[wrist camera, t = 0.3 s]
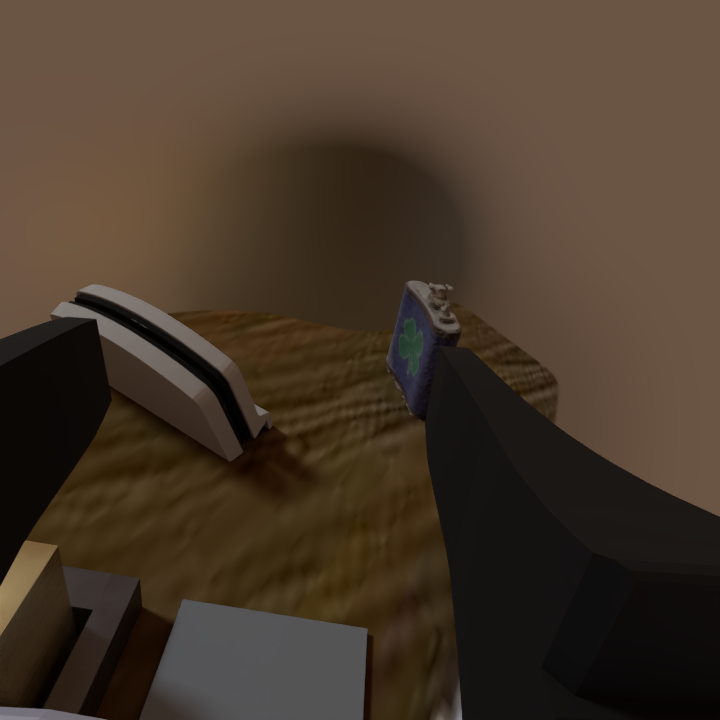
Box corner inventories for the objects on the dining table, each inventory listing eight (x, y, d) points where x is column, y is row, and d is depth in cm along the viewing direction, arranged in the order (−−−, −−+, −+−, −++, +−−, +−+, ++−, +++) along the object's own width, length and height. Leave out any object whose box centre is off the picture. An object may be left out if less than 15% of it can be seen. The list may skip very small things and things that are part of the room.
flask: (381, 359, 52) (406, 259, 46) (408, 359, 53) (437, 261, 47) (412, 422, 45) (447, 313, 39) (443, 421, 45) (482, 314, 40)
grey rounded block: (276, 427, 41) (257, 342, 33) (236, 474, 38) (204, 394, 31) (128, 341, 47) (82, 251, 39) (84, 376, 44) (25, 288, 36)
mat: (353, 885, 20) (355, 882, 20) (93, 850, 20) (92, 847, 20) (366, 632, 29) (367, 628, 28) (183, 603, 28) (183, 599, 28)
